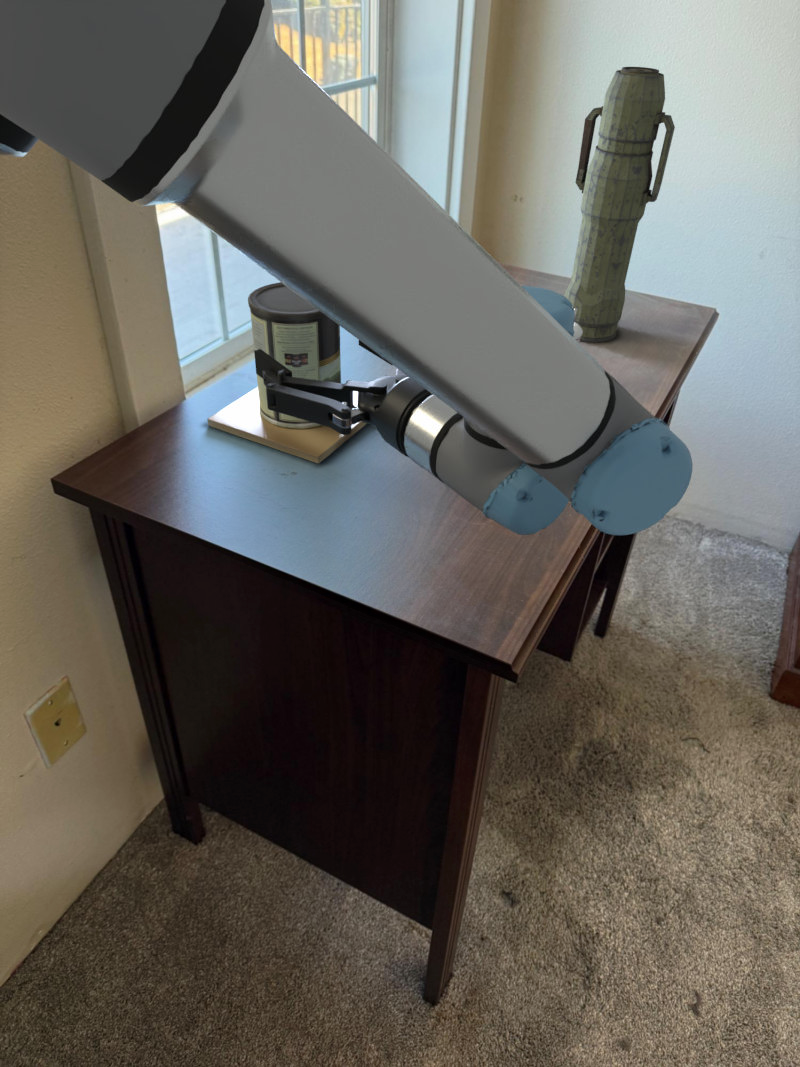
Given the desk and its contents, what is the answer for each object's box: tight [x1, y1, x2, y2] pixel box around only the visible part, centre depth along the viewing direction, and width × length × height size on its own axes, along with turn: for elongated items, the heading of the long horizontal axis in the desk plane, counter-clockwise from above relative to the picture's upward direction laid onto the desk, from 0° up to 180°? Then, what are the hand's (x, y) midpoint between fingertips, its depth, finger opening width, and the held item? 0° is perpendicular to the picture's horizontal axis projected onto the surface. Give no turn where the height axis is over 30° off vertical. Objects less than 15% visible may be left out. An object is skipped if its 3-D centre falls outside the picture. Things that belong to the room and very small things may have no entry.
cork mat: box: [206, 386, 368, 465], centre depth 92 cm, size 16×16×1 cm
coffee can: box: [247, 281, 342, 429], centre depth 88 cm, size 10×10×14 cm
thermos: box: [563, 66, 676, 343], centre depth 106 cm, size 9×12×35 cm
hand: (311, 346), depth 84 cm, fingers open, 13 cm apart
